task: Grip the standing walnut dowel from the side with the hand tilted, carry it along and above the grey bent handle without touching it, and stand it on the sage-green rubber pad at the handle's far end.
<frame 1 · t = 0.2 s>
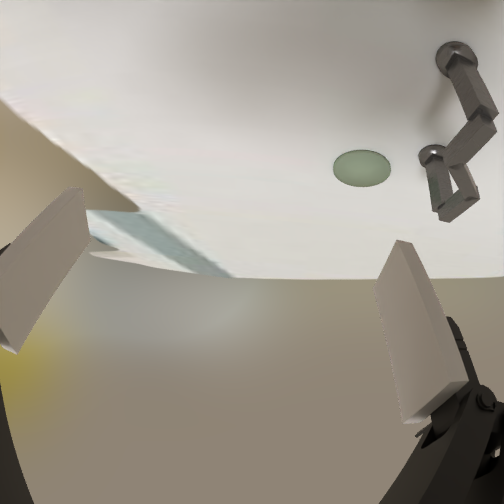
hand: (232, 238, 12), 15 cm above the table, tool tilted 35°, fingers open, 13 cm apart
grey bent handle: (445, 113, 21), on the table
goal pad: (362, 168, 30), on the table
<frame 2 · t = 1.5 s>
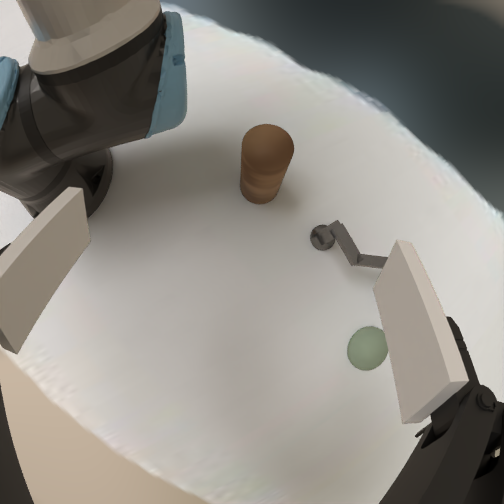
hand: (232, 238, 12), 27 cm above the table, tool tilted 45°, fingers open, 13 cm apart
grey bent handle: (355, 266, 40), on the table
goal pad: (368, 348, 39), on the table
dowel: (259, 185, 41), on the table
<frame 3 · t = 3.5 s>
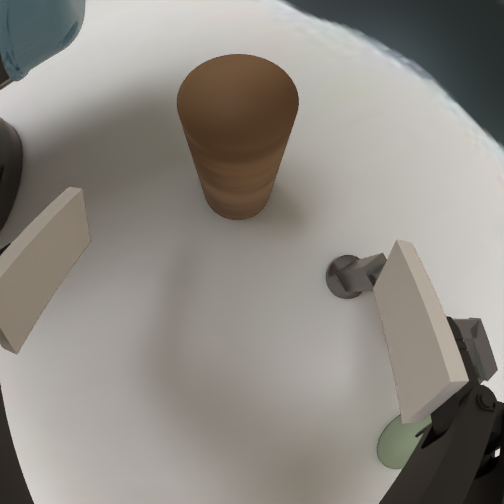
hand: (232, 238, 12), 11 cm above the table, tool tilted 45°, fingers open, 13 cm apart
grey bent handle: (398, 321, 23), on the table
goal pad: (406, 439, 22), on the table
dowel: (237, 187, 24), on the table
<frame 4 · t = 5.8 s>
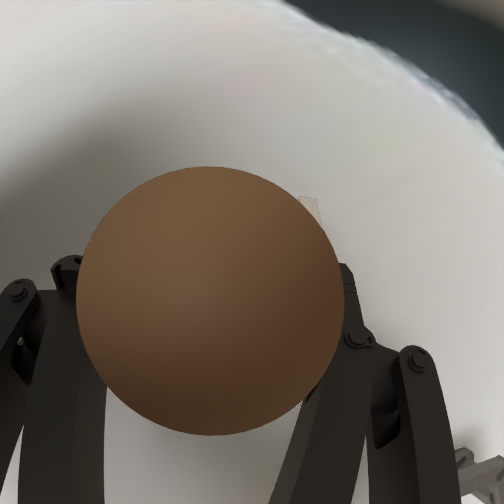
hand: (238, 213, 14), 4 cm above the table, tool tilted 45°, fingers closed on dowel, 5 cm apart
grey bent handle: (417, 440, 17), on the table
dowel: (226, 296, 17), on the table, touching gripper
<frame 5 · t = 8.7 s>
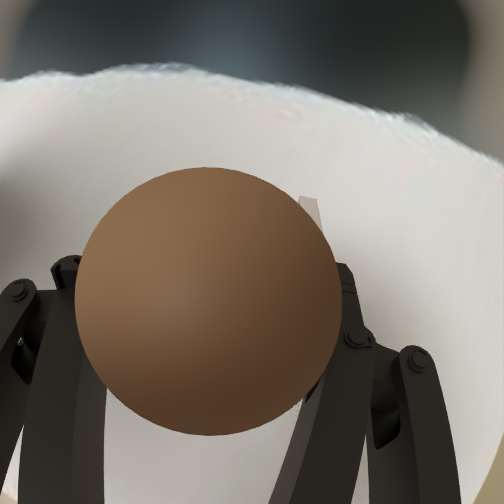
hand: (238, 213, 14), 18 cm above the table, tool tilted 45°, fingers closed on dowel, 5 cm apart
dowel: (226, 296, 17), point 14 cm above the table, touching gripper
when the fingers open (5 cm above the table, at t = 11.9 s): dowel stays where it is, resting on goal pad.
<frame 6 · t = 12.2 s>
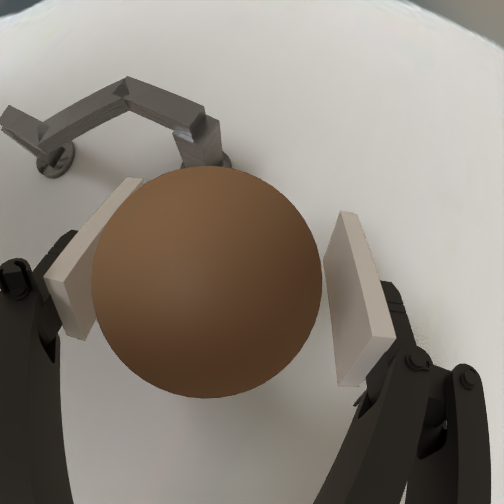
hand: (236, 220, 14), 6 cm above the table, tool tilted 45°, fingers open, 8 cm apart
grey bent handle: (123, 163, 20), on the table
dowel: (226, 297, 18), point 1 cm above the table, touching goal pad
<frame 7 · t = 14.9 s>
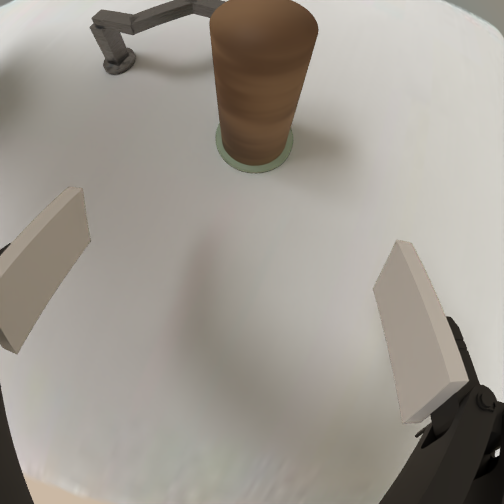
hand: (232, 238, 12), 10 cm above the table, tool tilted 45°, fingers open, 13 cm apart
grey bent handle: (175, 62, 25), on the table
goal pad: (254, 138, 24), on the table
dowel: (254, 136, 23), resting on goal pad
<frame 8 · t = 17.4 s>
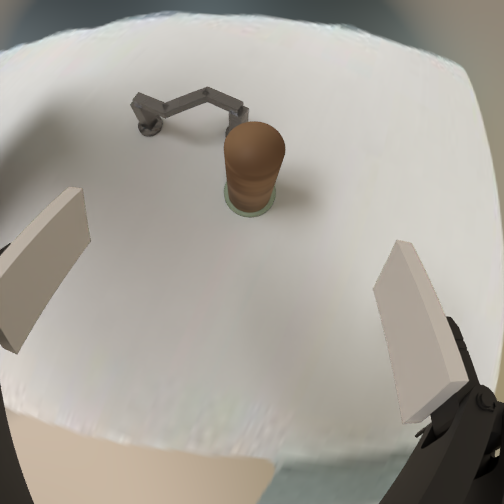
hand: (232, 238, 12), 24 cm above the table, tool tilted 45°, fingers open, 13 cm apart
grey bent handle: (193, 129, 38), on the table
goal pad: (249, 192, 37), on the table
dowel: (249, 192, 37), resting on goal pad
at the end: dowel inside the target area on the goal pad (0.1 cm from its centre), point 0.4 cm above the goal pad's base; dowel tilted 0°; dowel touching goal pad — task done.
